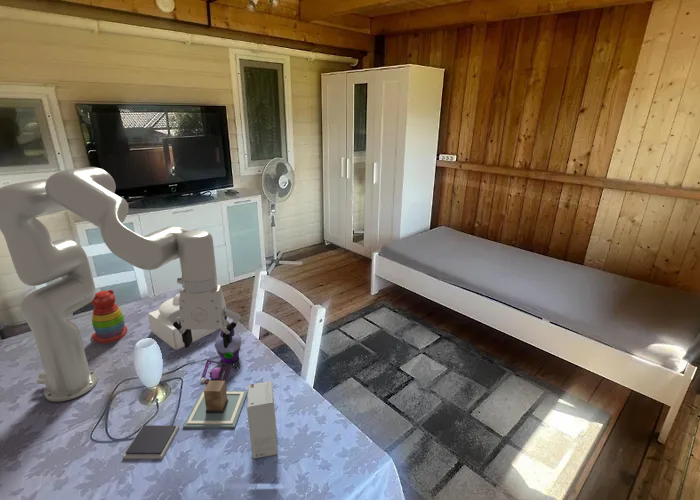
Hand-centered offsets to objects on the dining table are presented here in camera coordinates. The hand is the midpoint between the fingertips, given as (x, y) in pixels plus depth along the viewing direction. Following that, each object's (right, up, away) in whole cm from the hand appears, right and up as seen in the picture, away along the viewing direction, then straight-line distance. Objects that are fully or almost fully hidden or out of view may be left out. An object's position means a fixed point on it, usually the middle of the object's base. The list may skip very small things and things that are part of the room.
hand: (208, 344), depth 93 cm
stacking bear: (-49, -7, +39) cm, 63 cm away
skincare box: (+15, -23, -3) cm, 28 cm away
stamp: (0, -18, +7) cm, 20 cm away
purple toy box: (+1, -14, +16) cm, 21 cm away
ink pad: (-12, -23, -4) cm, 26 cm away
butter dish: (-24, -7, +43) cm, 49 cm away
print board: (0, -19, +7) cm, 20 cm away
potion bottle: (-3, -12, +27) cm, 30 cm away
